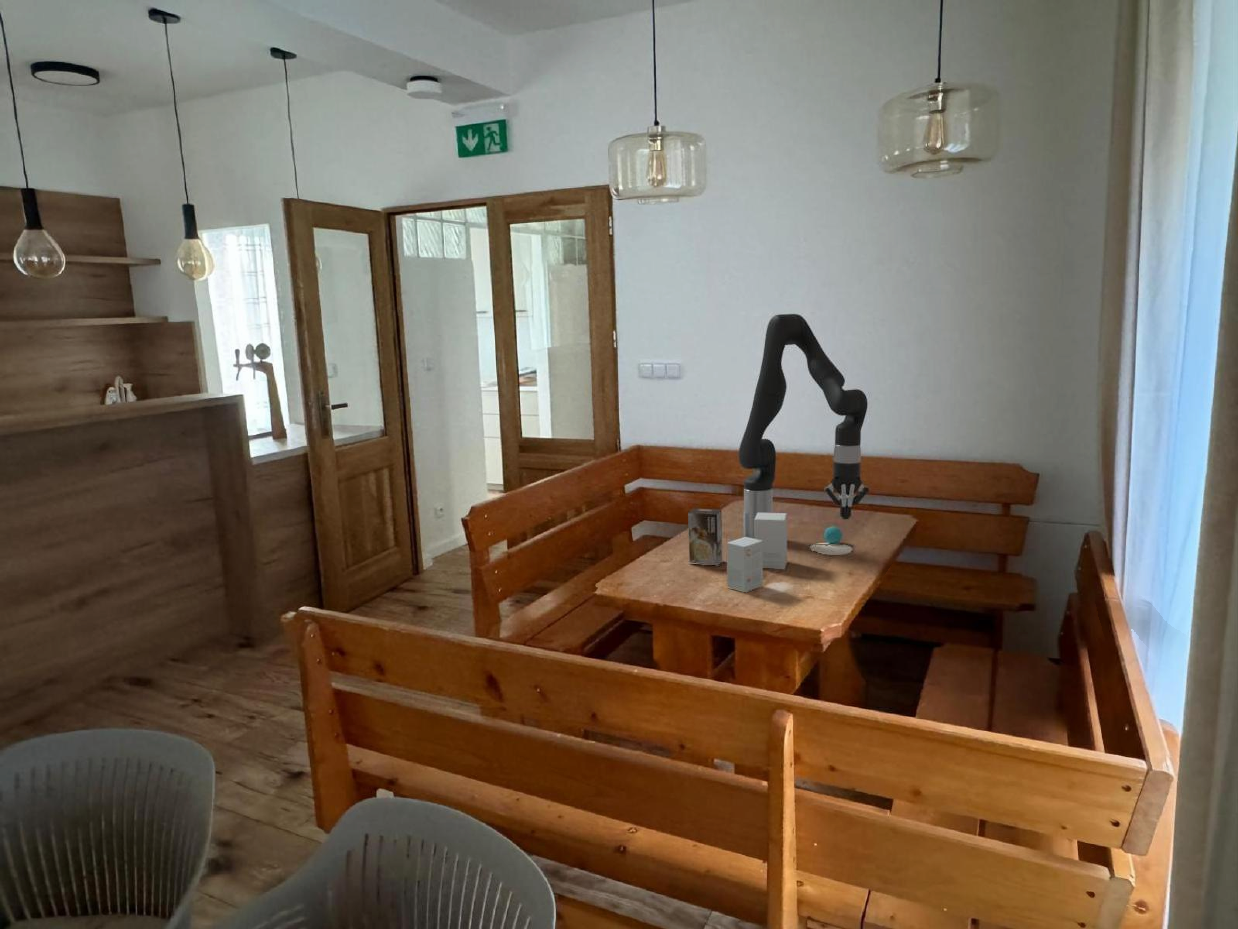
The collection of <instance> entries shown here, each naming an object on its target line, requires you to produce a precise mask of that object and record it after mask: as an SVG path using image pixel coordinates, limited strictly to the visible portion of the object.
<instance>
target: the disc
mask: <svg viewBox="0 0 1238 929" xmlns="http://www.w3.org/2000/svg"><path fill="white" fill-rule="evenodd" d="M817 544H831V543H828V542H819V543H817ZM836 544H839V542H838V543H836ZM842 544H843V545H828V546H825V545H821V546H820V545H816V546H815V545H814V544H812V545H810V546H809V549H810V548H811V550H812V552H813V551H825V552H818V553H817V554H819V553H821V554H820V555H825V554H826V556H827V555H828V556H842V555H848V554H850V553H852V552H853V547H851V546H849V545H848V544H847V545H846V544H844V543H842ZM812 548H815V549H812ZM811 550H810V551H811ZM831 551H833V552H831ZM851 551H852V552H851Z"/></svg>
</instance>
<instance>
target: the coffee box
mask: <svg viewBox="0 0 1238 929" xmlns="http://www.w3.org/2000/svg"><path fill="white" fill-rule="evenodd" d="M687 517H688V518H687V520H688V550H689V551H688V553H689V557H688V559H689V563H690V562H691V563H698V564H706V565H719V564H720V563H721V561H722V560H723V538H722V537H723V536H722V535H723V534H722V533H723V532H722V530H723V529H722V528H723V527H722V526H723V525H722V509H715V508H714V509H711V508H695V507H694V508H691V510H689V512H688V514H687ZM722 562H723V561H722ZM721 564H722V563H721ZM721 564H720V565H721ZM720 565H719V566H720Z"/></svg>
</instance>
